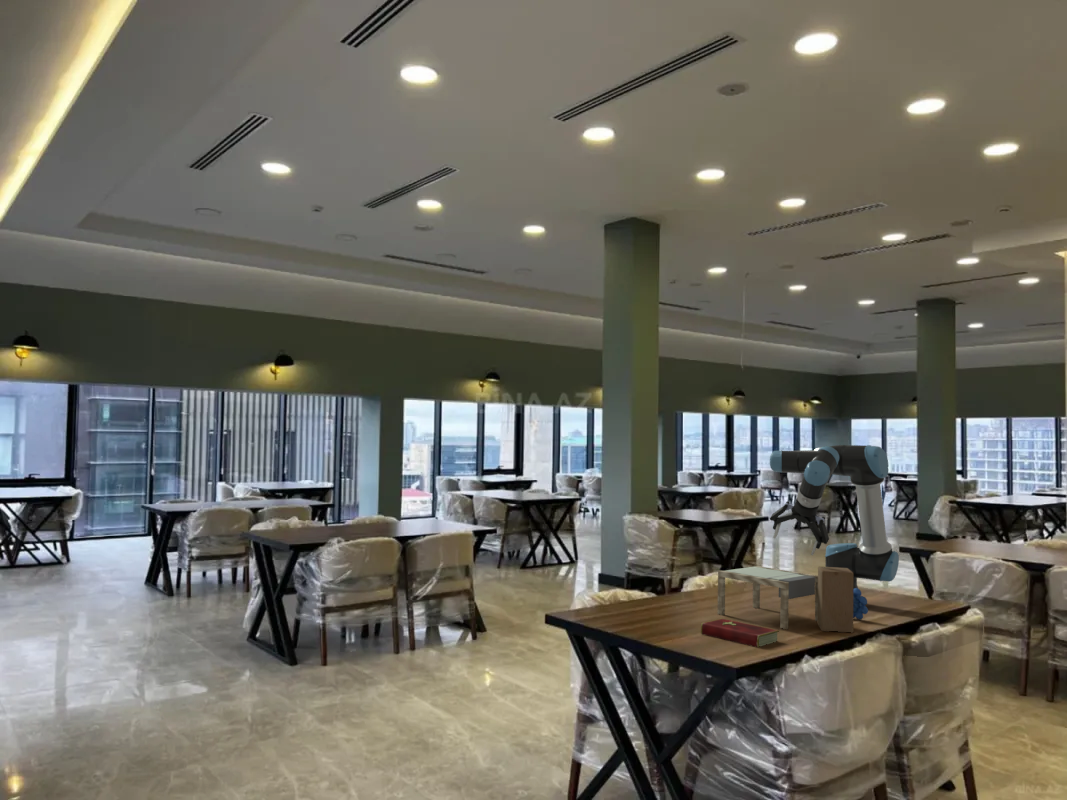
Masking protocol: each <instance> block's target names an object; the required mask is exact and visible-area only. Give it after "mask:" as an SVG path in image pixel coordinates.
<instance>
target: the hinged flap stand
mask: <svg viewBox="0 0 1067 800" xmlns="http://www.w3.org/2000/svg"><path fill="white" fill-rule="evenodd" d="M752 567H760V568H766V569H772V570H778V571H784V572H790V573H798V574H799V575H805V576H811V577H815V594H814V598H815V599H814V621H815V622H818V575H815V574H809V573H802V572H797V571H790V570H785V569H778V568H771V567H765V566H760V565H753V566H752ZM726 579H730V580H735V581H742V582H746V583H752V608H754V609H760V608H761V585H762V586H763V585H764V586H767V587H773V588H778V589H779V588H781V598H780V607H779V608H780V612H779V613H780V615H779V620H780V624H779V627H780V628H779V629H781V628H783V629H782V630H785V629H786V630H789V600H790V599H789V582H784V581H778V580H773V579H767V578H761V577H755V576H750V575H744V574H738V573H733V572H727V571H726V570H718V571H717V615H719V614H720V615H719V616H725V614H726Z"/></svg>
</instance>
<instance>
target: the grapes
mask: <svg viewBox="0 0 1067 800" xmlns="http://www.w3.org/2000/svg"><path fill="white" fill-rule="evenodd" d="M867 604H868V599H867V598H866V597H865V596H863V595H862V590H860V589H859V587H858V588H854V589H853V618H854V619H857V620H859V621H860V620H863V619H864V615H867V614H868V612H869V608H868V607H867V606H866V605H867Z"/></svg>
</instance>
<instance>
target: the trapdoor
mask: <svg viewBox="0 0 1067 800" xmlns="http://www.w3.org/2000/svg"><path fill="white" fill-rule="evenodd" d="M760 567H761V566H760ZM760 567H753V566H749V567H743V568H741V567H740V568H735V569H728V570H725V571H727V572H733V573H738V574H744V575H750V576H755V577H761V578H767V579H773V580H778V581H784V582H789V599H788V600H792V599H798V598H803V597H804V598H805V597H807V596H808V597H809V596H813V595H814V596H815V577H811V576H805V575H799V574H798V573H799V572H797V573H790V572H784V571H778V570H772V569H766V568H760ZM778 598H779V599H781V588H779V587H778Z"/></svg>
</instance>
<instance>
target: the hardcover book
mask: <svg viewBox="0 0 1067 800" xmlns="http://www.w3.org/2000/svg"><path fill="white" fill-rule="evenodd" d="M700 625H701V626H700V634H701V635H704V636H709V637H713V638H716V637H717V639H721V640H725V641H729V640H730V642H733V641H734V643H738V644H742V645H746V644H747V646H750V645H752V647H755V646H756V647H755V648H760V647H763V646H765V645H766V644H767V645H769V644H770V645H771V644H773V642H774V643H776V641H777V642H778V633H780V630H779V629H776V628H770V627H765V626H761V625H756V624H751V623H747V622H741V621H737V620H732V619H728V618H723V617H722V618H718V619H713V620H709V621H703V622H701V623H700ZM759 646H760V647H759Z"/></svg>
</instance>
